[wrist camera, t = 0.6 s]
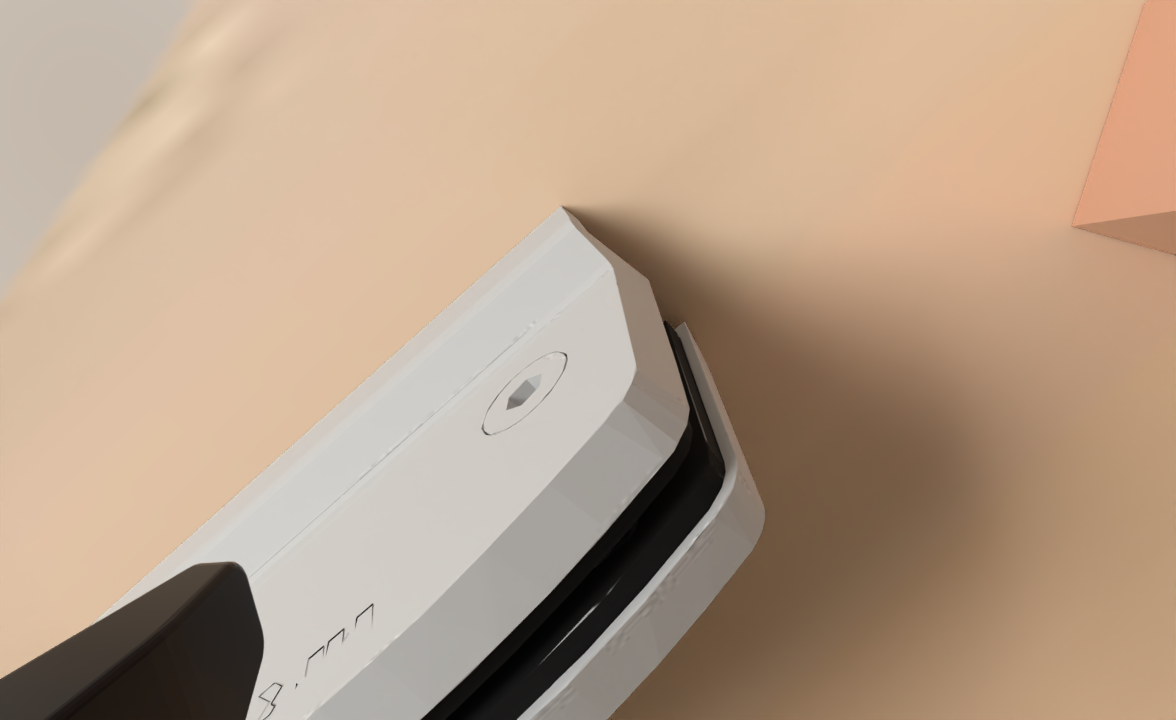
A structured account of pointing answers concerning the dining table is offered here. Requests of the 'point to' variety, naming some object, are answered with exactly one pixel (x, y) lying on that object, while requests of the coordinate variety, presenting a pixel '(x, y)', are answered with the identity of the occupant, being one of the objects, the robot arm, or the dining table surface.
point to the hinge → (495, 508)
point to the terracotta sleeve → (1139, 143)
